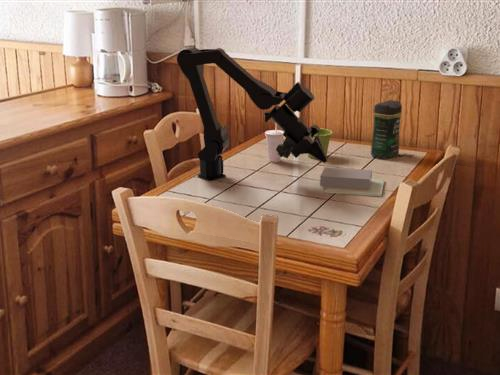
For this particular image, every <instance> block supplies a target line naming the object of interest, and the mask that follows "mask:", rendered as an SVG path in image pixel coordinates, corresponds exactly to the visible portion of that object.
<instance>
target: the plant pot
mask: <svg viewBox="0 0 500 375" xmlns="http://www.w3.org/2000/svg"><path fill="white" fill-rule="evenodd" d="M319 128H320V127H319ZM320 129H321V130H320V131H319V132H317V133H316V134H315V135H314V137H315V138H316V137H317V136H318V135H319V137H320V140H321V143H322V146H323V149H324V152H325V155H326V157H327V155H328V150H329V145H330V140H331V138H332V134H333V131H332V130H330V129H327V128H322V127H321V128H320ZM307 156H308V158H309V159H313V160H318V159H317V158H315V157H314V156H312V155H310V154H308V155H307Z"/></svg>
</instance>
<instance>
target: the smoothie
mask: <svg viewBox="0 0 500 375" xmlns="http://www.w3.org/2000/svg"><path fill="white" fill-rule="evenodd" d="M274 125H275V127H274V128H275V129H271V130H266V131H265V132H264V136H265V137H266V138H265V139H266V146H267V147H266V149H267V155H268V161H269V162H270V163H279V162H281V158H282V157H280V155H278V152H277V151H276V148H277V146H278V145H279V144H283V142H284V137H285V136H284V135H283V133H284V131H283V130H282V129H281V130H280V129H278V125H277V123H276V122H275V121H274Z"/></svg>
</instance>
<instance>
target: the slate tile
mask: <svg viewBox="0 0 500 375" xmlns="http://www.w3.org/2000/svg"><path fill="white" fill-rule="evenodd" d="M372 179H373V169H360V168H344V167H341V168H340V167H330V166H329V167H328V166H324V167H323V169H322V172H321V173H320V179H319V184H320V185H319V186H320V187H321V188H326V187H327V188H341V189H355V190H368V189H370V185H371V181H372Z"/></svg>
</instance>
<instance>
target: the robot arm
mask: <svg viewBox="0 0 500 375" xmlns="http://www.w3.org/2000/svg"><path fill="white" fill-rule="evenodd" d="M176 63H177V64H178V67H179V70H180V72H182V74H183V75H184V77H185V78H186V80H187V81H188V82H189V86H190V89H191V91H192V94H193V98H194V101H195V104H196V107H197V110H198V113H199V116H200V119H201V122H202V126H203V144H204V147H203V148H202V149H201V150H199V152H197V157H198V160H199V173H197V175H196V176H197V177H199V178H201V179H204V180H207V181H214V180H217V179H222V178H225V177H226V176H227V175H226V174H224V160H223V156H222V154H223V152H224V150H226V149H227V148H228V146H229V145H230V138H231V135H229V132H228V128H227V125H225V124H224V125H223V126H222V125H221V123H220V122H219V120H218V118H217V115H216V111H215V108H214V105H213V102H212V98H211V96H210V93H209V89H208V86H207V83H206V80H205V76H204V71H205V70H204V68H205V67H204V66H205V65H210V64H211V65H212V64H215V66H217V67H218V68H219V69H220V70H221V71H222V72H224V73H225V74H226V75H227V76H229V77H230V79H232V80H233V81H234V82H235V83H236V84H238V85H239V86H240V87H241V88H242V89H243V90H244V91H245V92H246V93H247V96H248V97H249V98H250V101H251V102H252V103H254V105H255V106H256V107H257V108H258V109H260V110H262V111H264V110H266V111H265V112H264V122H265V123H267V122H268V121H270V120H271V119H272V121H274V123H275V122H276V123H277V127H279V128H280V129H281V131H284V133H283V135H284V136H283V137H284V140H283V144H279V145H278V146H277V148H276V151H277V152H278V155H280V157H281V158H285V159H287V160H288V159H289V157H290V155H291V154H292V156H293V157H294V158H295V159H298V158H299V156H300V155H304V154H305V155H306V154H310V155H312V156H314V157H315V158H317V159H316V160H319V161H320V162H322V163H324V164H325V163H327V162H328V158H327V157H326V155H325V152H324V149H323V146H322V143H321V140H320V137H319V135H318V136H317V137H316V138H315V137H314V135H315V134H316V133H317V132H319V131H320V130H321V129H322V128H321V129H320V127H319V126H318V125H317V124H311V126H309V127H308V126H307V125H306V124H305V123H304V121H302V120H303V118H302V117H301V116H299V117H298V116H297V115H296V114H295V113H296V112H299V113H300V112H303V110H304V109H306V107H308V106H309V105H310V104H311V103H312V101H314V100H315V96H314V94H313V93H312V91H311V90H310V89H309V88H308V87H306V86H304V84H301V83H300V81H297V82H296V83H295V84H294V85H293V86H292V88H290V90H288V91H287V92H283V91H278V90H276V88H274V87H272V86H271V85H269V84H267V83H265V82H263V81H262V80H259V79H257V78H256V77H254V76H253V75H252V74H250V73H249V72H248V71H247V70H246V69H245V68H244V67H243V66H242V65H241V64H239V63H238V62H237V61H236V60H235V59H233V58H232V57H231V56H230V55H229V54H228V53H226V51H225V50H224V49H223V48H221V47H216V48H205V49H203V48H202V49H199V48H197V47H195V46H189V47H187V48H184V49H182V50H180V51H179V52H178V54H177V56H176ZM283 101H284V102H283ZM282 102H283V103H282ZM281 103H282V104H281ZM280 104H281V105H280ZM279 105H280V106H279ZM273 106H274V107H273ZM272 107H273V108H272ZM270 108H272V109H271V110H270V111H267V110H269V109H270Z"/></svg>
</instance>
